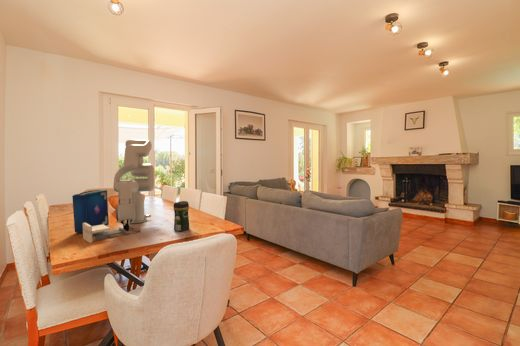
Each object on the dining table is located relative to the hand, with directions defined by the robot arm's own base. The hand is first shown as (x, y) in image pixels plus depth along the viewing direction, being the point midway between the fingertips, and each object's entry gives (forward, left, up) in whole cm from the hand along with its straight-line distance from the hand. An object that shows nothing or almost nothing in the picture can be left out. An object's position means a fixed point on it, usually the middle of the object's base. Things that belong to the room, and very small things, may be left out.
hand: (126, 230), depth 159 cm
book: (+12, -24, -1) cm, 27 cm away
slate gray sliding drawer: (+10, 0, -2) cm, 10 cm away
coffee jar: (-27, +20, -1) cm, 33 cm away
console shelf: (+15, 0, -1) cm, 15 cm away
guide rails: (+2, 0, -1) cm, 3 cm away
